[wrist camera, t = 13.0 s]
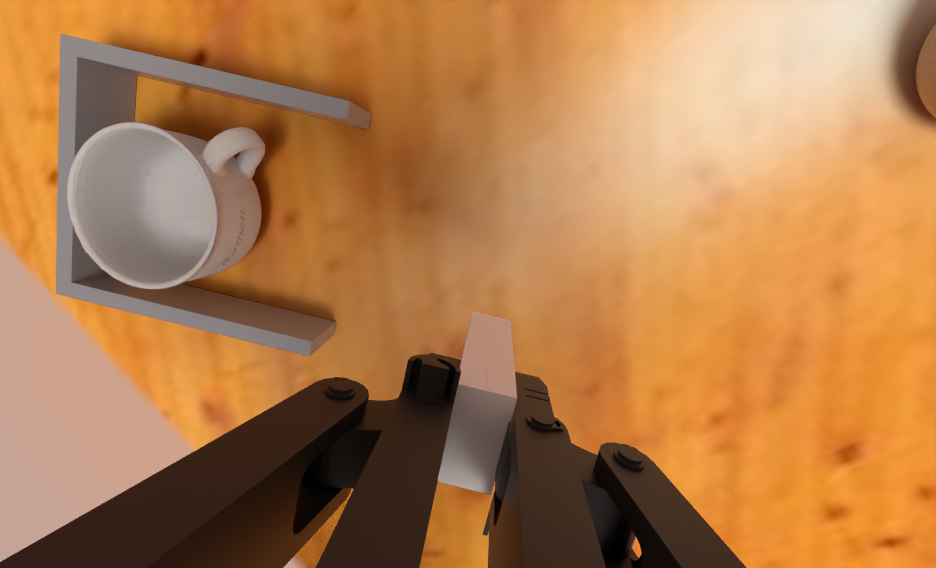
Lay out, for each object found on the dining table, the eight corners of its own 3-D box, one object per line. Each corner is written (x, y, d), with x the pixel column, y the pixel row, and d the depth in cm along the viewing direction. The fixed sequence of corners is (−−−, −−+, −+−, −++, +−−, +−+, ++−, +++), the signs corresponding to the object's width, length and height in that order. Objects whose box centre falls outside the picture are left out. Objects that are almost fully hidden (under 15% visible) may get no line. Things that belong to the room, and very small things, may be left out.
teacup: (193, 287, 38) (114, 313, 30) (128, 168, 36) (26, 162, 28) (334, 225, 36) (288, 235, 28) (272, 95, 34) (205, 67, 26)
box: (333, 334, 38) (309, 356, 33) (112, 280, 38) (55, 293, 34) (371, 113, 34) (349, 101, 29) (123, 55, 34) (60, 33, 29)
